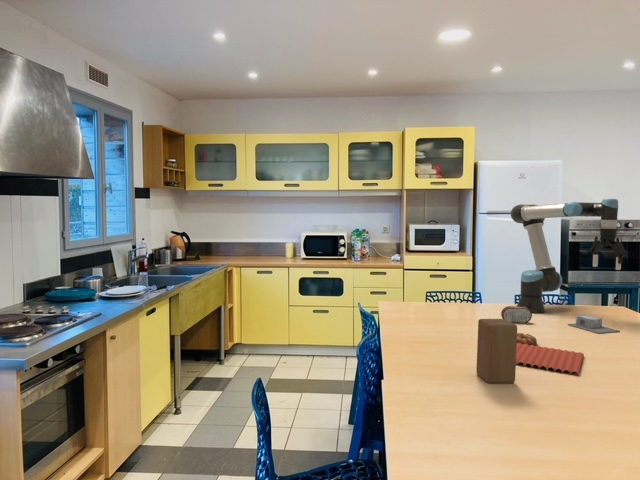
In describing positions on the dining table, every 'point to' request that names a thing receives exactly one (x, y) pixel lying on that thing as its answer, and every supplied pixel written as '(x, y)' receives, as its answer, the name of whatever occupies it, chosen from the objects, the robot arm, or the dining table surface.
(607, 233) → the robot arm
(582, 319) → the medicine box
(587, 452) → the dining table surface
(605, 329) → the slate mat
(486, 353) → the wooden block
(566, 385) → the dining table surface
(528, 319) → the tin
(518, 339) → the pretzel
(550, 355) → the corrugated roof tile
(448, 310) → the dining table surface
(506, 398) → the dining table surface
